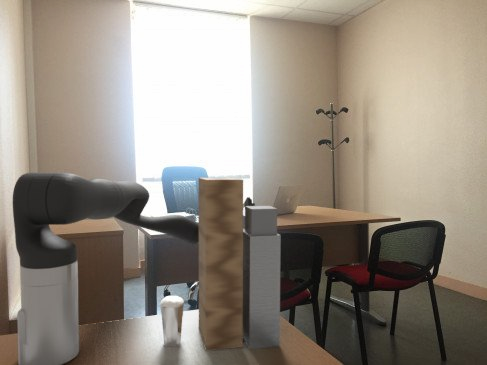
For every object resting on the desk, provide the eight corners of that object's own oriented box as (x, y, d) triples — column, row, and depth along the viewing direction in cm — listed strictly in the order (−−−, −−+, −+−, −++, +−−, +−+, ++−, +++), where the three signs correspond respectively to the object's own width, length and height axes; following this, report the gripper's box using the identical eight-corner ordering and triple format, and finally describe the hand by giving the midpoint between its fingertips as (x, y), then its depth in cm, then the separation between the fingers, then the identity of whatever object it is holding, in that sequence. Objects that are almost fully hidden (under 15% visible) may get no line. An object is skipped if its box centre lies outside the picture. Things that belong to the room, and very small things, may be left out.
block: (251, 235, 74) (251, 209, 74) (229, 220, 93) (229, 199, 92) (277, 234, 76) (277, 208, 75) (250, 220, 94) (250, 199, 94)
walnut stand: (206, 350, 74) (206, 179, 73) (198, 328, 84) (198, 177, 82) (242, 346, 76) (243, 179, 74) (231, 325, 86) (231, 177, 84)
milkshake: (183, 350, 74) (183, 297, 74) (156, 347, 76) (156, 295, 75) (191, 339, 79) (191, 289, 78) (166, 336, 80) (165, 288, 79)
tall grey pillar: (249, 349, 75) (250, 236, 74) (235, 324, 86) (235, 226, 85) (279, 346, 76) (280, 235, 75) (261, 321, 88) (262, 225, 87)
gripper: (196, 212, 115) (204, 187, 101) (244, 211, 118) (258, 187, 104) (198, 237, 111) (206, 215, 97) (247, 235, 115) (262, 213, 101)
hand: (233, 200), depth 101 cm, fingers open, 8 cm apart
